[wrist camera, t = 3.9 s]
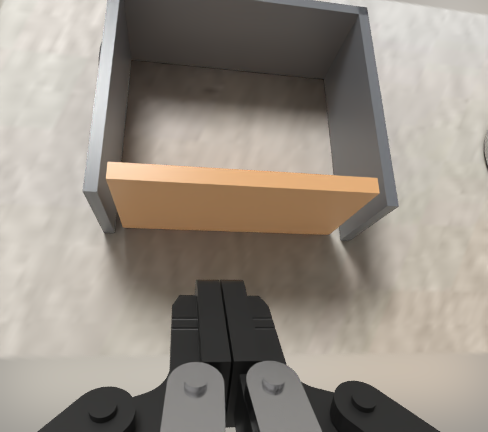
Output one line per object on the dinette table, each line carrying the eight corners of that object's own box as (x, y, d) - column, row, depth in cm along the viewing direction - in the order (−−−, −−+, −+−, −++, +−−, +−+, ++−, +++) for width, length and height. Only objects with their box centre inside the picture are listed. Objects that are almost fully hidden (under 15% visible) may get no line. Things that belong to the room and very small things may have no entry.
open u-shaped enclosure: (118, 51, 28) (105, -28, 22) (330, 73, 30) (366, 7, 25) (98, 232, 23) (75, 190, 18) (349, 240, 26) (398, 206, 20)
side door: (124, 214, 23) (107, 161, 17) (327, 222, 25) (377, 177, 19) (123, 227, 23) (105, 178, 17) (329, 234, 25) (379, 193, 19)
